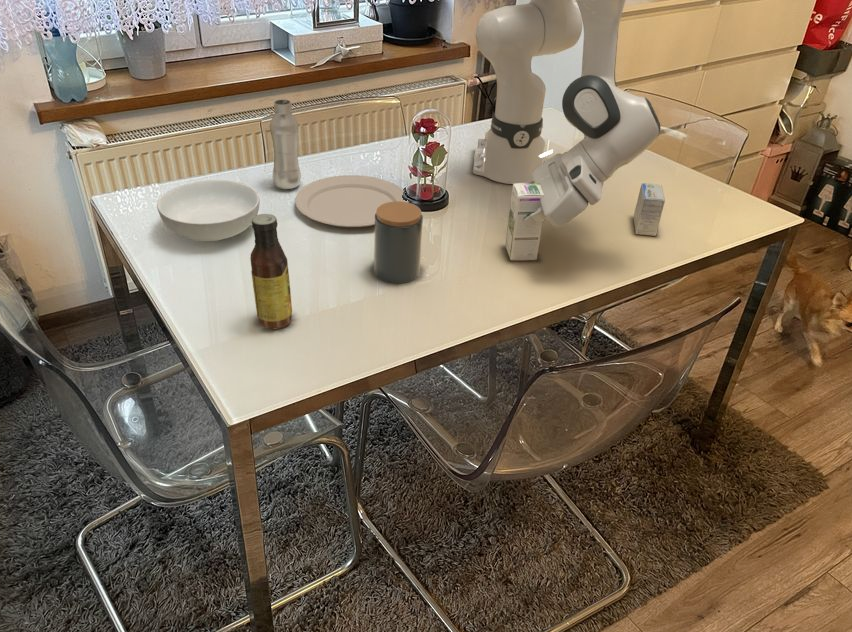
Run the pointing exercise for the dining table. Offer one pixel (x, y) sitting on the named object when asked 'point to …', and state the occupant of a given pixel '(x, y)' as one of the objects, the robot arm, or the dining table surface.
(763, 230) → the dining table surface
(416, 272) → the canister
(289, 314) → the sauce bottle
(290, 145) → the plastic bottle
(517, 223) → the syrup box
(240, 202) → the serving bowl
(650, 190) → the medicine box
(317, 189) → the plate
